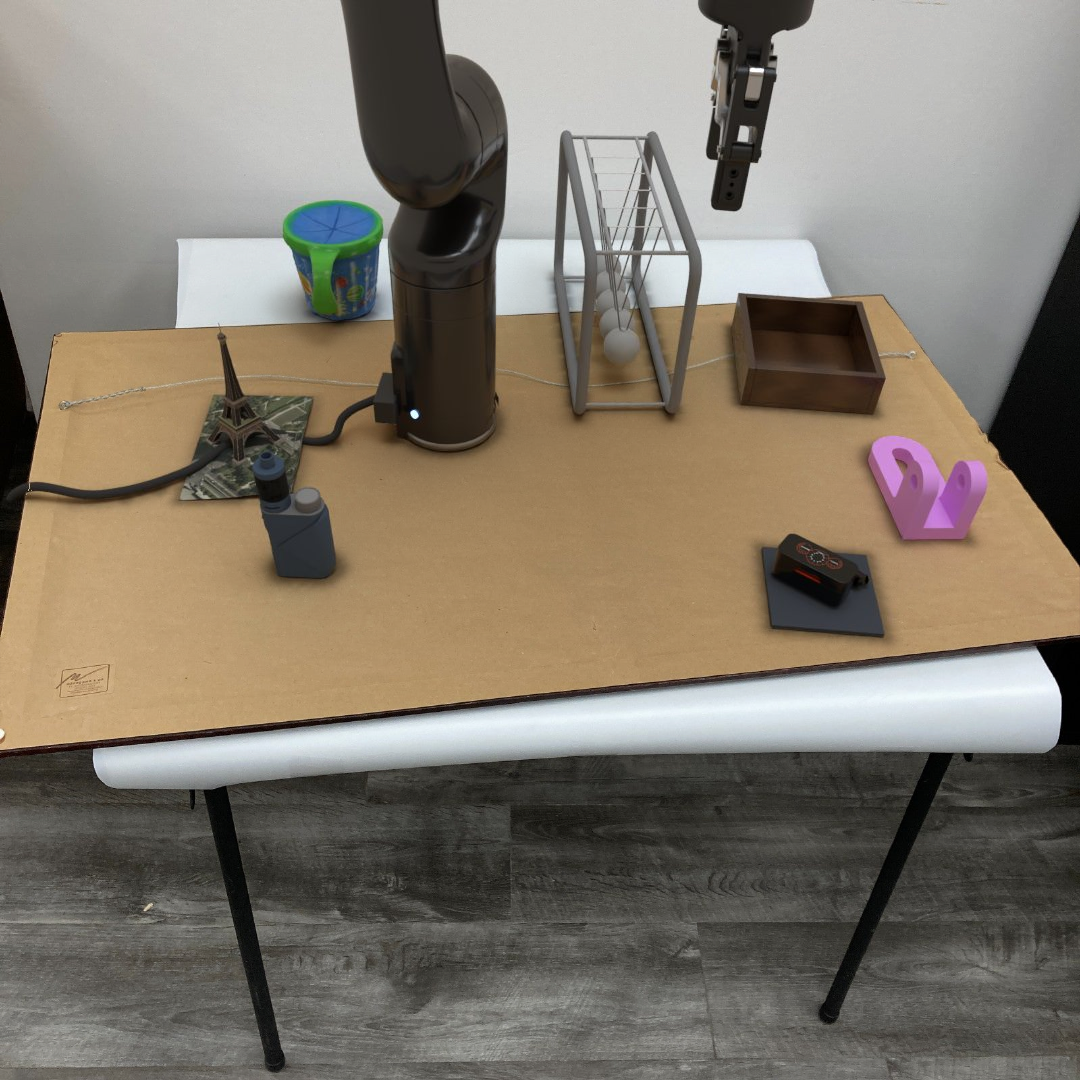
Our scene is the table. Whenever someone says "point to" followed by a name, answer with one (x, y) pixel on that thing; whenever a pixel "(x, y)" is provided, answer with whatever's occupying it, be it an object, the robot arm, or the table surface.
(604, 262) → the newton's cradle
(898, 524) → the bracket
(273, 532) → the vaping device
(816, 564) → the black electronic gadget
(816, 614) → the pad
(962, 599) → the table surface
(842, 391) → the wooden box
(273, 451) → the eiffel tower figurine
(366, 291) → the snack cup
